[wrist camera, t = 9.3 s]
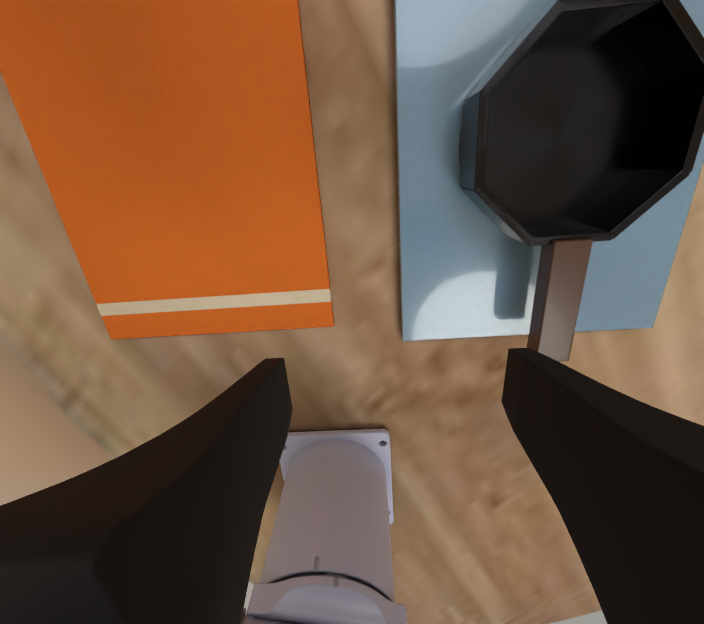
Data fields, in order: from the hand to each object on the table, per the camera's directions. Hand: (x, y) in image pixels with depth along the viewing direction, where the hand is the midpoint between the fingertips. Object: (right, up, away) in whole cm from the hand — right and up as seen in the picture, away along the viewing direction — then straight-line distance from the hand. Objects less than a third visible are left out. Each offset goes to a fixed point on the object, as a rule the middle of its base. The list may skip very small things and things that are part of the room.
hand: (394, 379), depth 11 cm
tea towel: (-10, +10, +6) cm, 16 cm away
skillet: (+8, +7, +6) cm, 12 cm away
